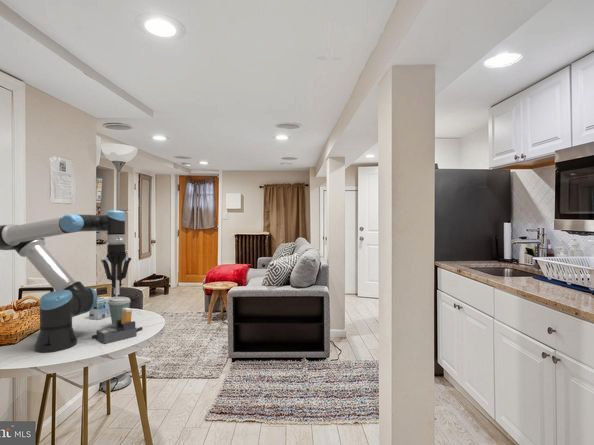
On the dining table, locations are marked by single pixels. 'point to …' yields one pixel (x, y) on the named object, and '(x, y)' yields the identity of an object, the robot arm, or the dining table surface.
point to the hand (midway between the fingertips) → (116, 294)
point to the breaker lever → (126, 315)
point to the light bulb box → (100, 309)
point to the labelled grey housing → (117, 332)
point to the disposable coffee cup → (117, 307)
